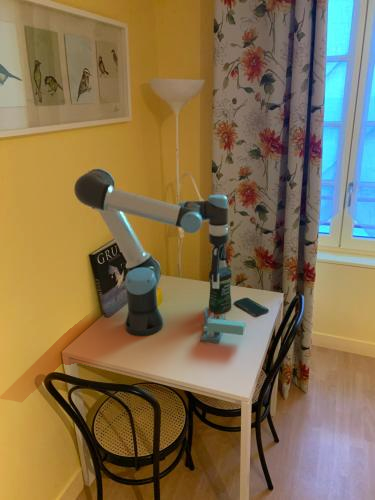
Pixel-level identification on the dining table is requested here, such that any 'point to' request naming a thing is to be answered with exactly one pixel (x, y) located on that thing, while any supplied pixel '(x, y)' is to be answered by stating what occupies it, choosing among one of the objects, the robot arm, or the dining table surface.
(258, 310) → the phone
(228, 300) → the coffee jar
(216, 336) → the slotted block with rod
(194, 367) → the dining table surface
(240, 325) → the cover
